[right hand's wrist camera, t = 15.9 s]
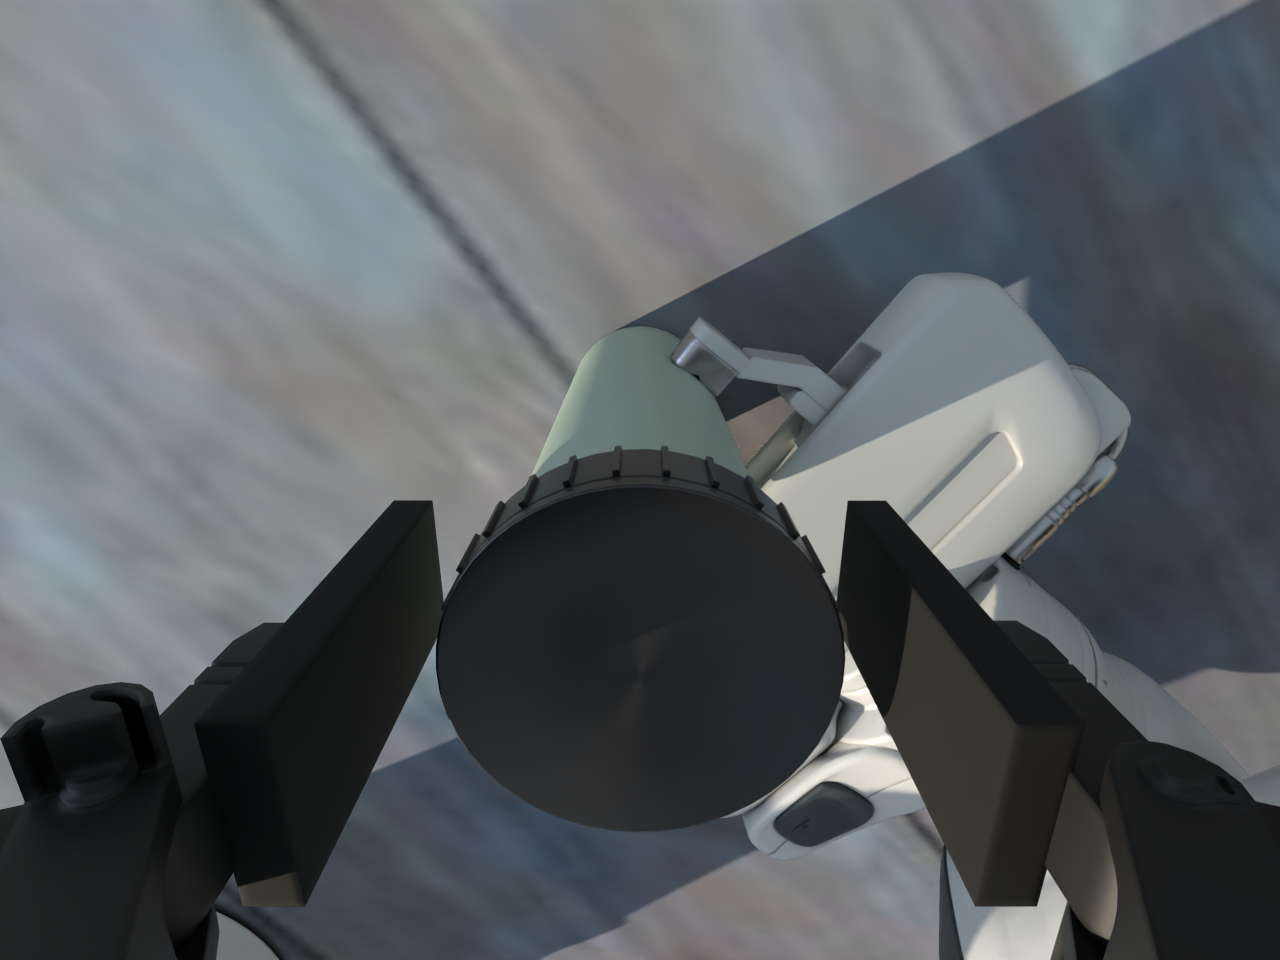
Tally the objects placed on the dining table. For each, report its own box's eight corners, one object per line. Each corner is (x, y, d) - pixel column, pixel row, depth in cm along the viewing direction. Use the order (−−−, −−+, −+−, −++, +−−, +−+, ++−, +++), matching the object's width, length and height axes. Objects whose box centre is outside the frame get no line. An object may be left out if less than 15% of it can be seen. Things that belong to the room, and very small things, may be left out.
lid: (844, 727, 13) (873, 799, 11) (518, 788, 13) (501, 865, 12) (792, 404, 11) (819, 435, 9) (407, 490, 11) (368, 534, 10)
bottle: (555, 428, 29) (430, 727, 12) (602, 304, 27) (537, 441, 10) (674, 474, 29) (723, 821, 12) (728, 357, 28) (871, 569, 11)
